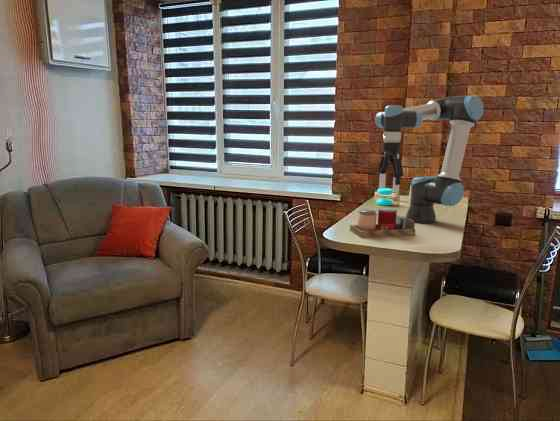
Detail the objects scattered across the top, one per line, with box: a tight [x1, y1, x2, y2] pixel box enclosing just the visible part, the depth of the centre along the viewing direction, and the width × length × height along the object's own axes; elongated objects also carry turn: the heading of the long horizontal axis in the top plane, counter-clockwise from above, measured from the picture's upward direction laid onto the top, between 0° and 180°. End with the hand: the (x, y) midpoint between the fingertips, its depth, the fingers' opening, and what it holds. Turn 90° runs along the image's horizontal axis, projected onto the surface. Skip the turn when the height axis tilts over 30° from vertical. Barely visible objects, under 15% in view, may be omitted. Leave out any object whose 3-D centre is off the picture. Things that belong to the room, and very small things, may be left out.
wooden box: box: [349, 216, 416, 238], centre depth 196 cm, size 26×12×7 cm, turn 102°
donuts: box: [376, 187, 394, 207], centre depth 274 cm, size 10×10×10 cm
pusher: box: [395, 214, 407, 230], centre depth 198 cm, size 4×10×7 cm, turn 12°
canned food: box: [377, 206, 398, 230], centre depth 196 cm, size 8×8×11 cm
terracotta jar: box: [357, 208, 378, 231], centre depth 194 cm, size 8×8×10 cm
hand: (388, 190), depth 193 cm, fingers open, 13 cm apart
